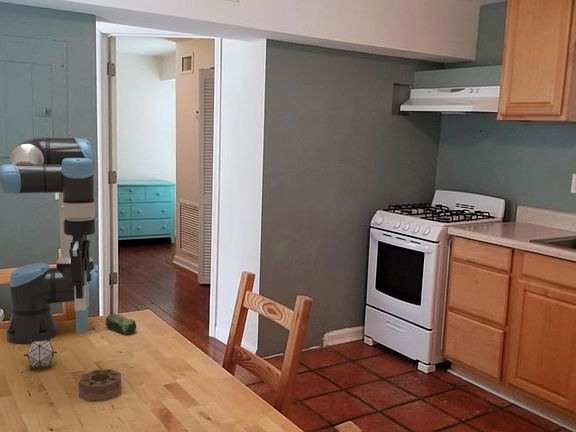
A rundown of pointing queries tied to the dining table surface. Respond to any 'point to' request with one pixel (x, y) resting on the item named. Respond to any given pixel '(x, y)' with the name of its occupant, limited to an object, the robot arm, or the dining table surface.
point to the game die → (40, 353)
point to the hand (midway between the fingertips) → (81, 307)
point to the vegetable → (120, 324)
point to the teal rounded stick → (82, 313)
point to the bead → (100, 385)
